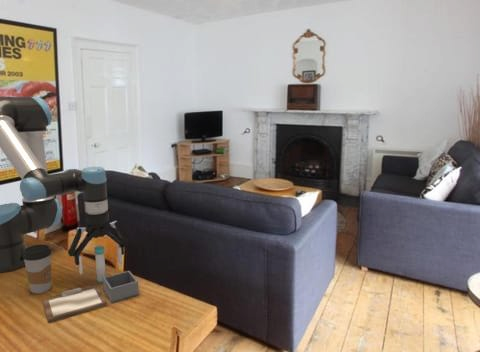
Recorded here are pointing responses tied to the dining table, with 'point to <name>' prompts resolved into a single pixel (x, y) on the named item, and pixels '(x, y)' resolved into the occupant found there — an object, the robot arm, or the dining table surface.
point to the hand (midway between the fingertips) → (101, 267)
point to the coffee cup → (38, 268)
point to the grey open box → (120, 286)
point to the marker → (100, 263)
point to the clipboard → (73, 303)
